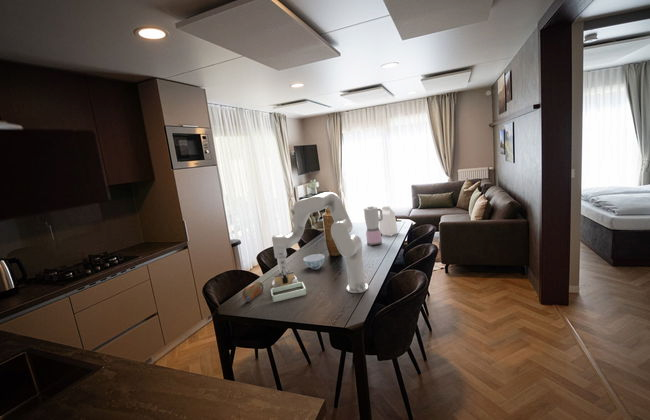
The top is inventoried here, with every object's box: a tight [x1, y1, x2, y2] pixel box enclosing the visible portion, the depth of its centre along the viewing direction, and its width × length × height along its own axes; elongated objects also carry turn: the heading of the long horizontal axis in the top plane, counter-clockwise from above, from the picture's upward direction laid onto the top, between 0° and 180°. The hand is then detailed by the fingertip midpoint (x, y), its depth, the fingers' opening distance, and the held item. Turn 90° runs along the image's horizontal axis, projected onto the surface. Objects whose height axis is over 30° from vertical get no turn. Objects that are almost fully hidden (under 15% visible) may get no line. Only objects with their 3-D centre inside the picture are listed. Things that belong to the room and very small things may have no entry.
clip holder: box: [271, 275, 299, 288], centre depth 193 cm, size 12×16×4 cm
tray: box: [270, 281, 308, 303], centre depth 179 cm, size 12×20×3 cm, turn 105°
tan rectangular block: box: [273, 269, 295, 286], centre depth 193 cm, size 3×12×7 cm, turn 105°
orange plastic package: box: [241, 281, 264, 303], centre depth 180 cm, size 15×3×8 cm, turn 148°
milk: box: [378, 205, 398, 237], centre depth 279 cm, size 12×12×26 cm
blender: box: [363, 205, 383, 247], centre depth 253 cm, size 16×12×32 cm
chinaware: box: [303, 253, 325, 271], centre depth 217 cm, size 15×15×8 cm
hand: (284, 281), depth 193 cm, fingers open, 5 cm apart
